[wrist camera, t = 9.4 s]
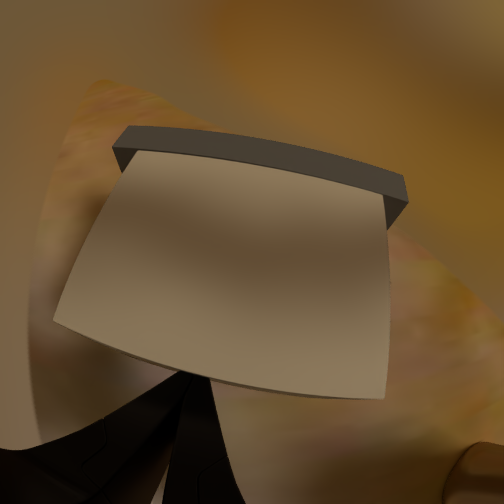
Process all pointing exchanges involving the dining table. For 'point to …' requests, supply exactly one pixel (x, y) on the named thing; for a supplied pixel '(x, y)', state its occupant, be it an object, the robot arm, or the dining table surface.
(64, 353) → the dining table surface
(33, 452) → the robot arm
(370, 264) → the maple block
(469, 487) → the beer glass
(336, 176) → the backstop board
